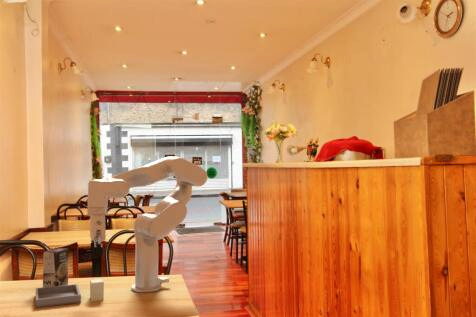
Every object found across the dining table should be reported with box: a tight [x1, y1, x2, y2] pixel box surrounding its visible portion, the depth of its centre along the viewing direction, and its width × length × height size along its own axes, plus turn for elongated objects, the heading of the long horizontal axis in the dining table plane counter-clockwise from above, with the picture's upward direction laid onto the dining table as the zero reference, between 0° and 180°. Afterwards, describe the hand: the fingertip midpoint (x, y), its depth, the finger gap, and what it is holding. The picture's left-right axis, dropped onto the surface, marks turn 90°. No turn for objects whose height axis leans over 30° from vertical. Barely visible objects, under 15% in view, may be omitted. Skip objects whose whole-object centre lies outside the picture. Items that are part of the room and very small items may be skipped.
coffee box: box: [42, 247, 69, 288], centre depth 188 cm, size 9×6×16 cm
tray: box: [35, 283, 82, 309], centre depth 173 cm, size 16×16×3 cm
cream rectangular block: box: [89, 278, 105, 302], centre depth 175 cm, size 4×4×7 cm
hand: (96, 254), depth 174 cm, fingers open, 9 cm apart
